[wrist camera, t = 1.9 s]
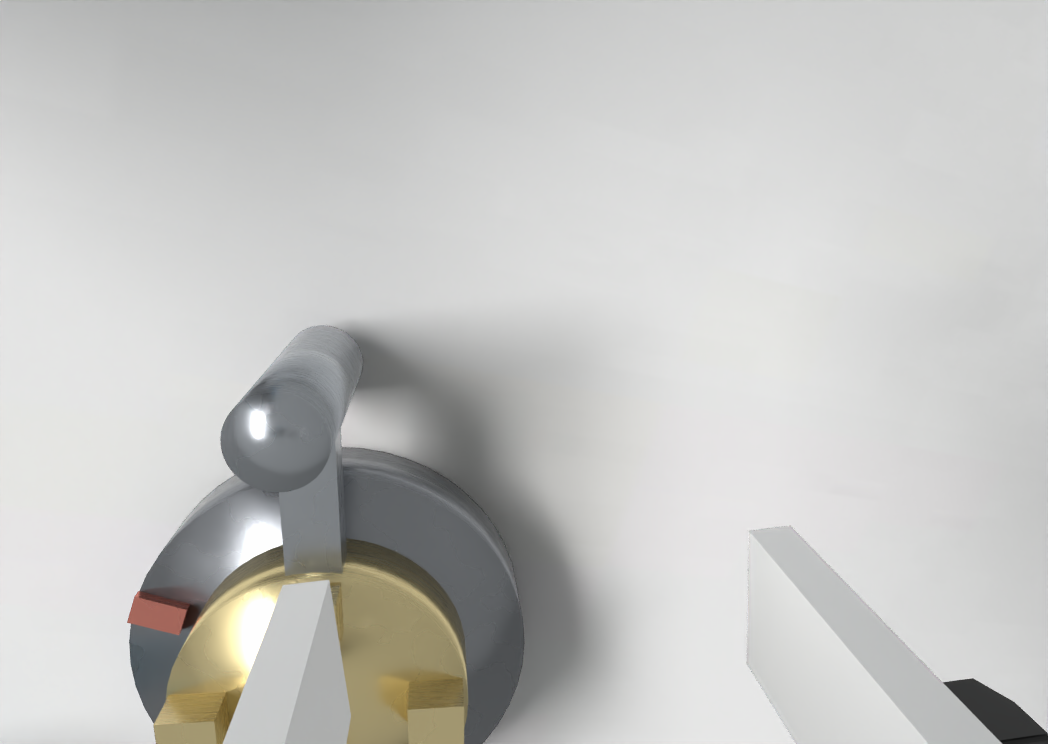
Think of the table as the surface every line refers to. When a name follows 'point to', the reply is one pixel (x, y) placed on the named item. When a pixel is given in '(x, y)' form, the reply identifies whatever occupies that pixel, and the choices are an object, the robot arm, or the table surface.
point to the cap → (370, 515)
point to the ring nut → (320, 573)
